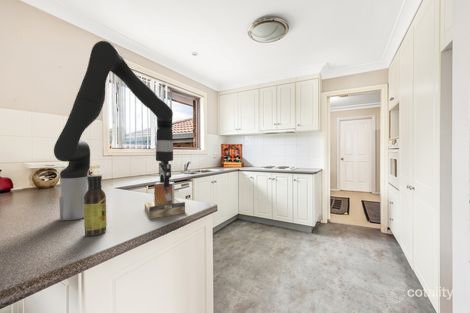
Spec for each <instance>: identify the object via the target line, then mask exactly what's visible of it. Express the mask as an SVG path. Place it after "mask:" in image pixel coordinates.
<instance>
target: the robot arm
mask: <svg viewBox="0 0 470 313" xmlns="http://www.w3.org/2000/svg"><path fill="white" fill-rule="evenodd" d="M89 55H90V56H89V59H88V62H87V64H88V65H87V68H86V72H85V73H84V74H85V75H84V76H83V79H82V81H81V85H80V86H79V89H78V92H77V94H76V97H75V99H74V102H73V105H72V107H71V108H72V109H71V110H70V113H69V114H68V118H67V119H66V122H65V125H64V127H63V129H62V130H61V132H60V134H59V136H58V138H57V139H56V142H55V144H54V146H53V155H54V157H55V158H56V160H57V161H60V162H66V163H67V162H68V165H67V167H65V168H63V169H62V170H61V171H60V172H59V184H60V186H59V187H60V196H59V198H58V200H59V201H58V203H59V204H58V205H59V221H75V220H79V219H84V196H85V194H86V192H87V191H88V180H87V177H88V176H89V175H88V174H89V171H90V168H91V167H90V166H91V149H90V145H89V144H88V142H86V141H85V140H82V139H81V138H82V135H83V133H84V131H85V130H86V129H87V128H88V127H89V126H91V124H92V123H93V122H95V121H96V120H97V119H98V117H99V116H100V114H101V112H102V109H103V106H104V103H105V99H106V85H107V84H106V82H107V79H108V76H109V74H110V72H111V73H112V74H113V75H115V76H116V77H117V78H119V79H120V80H121V81H122V82H123V83H124V84H125V86H126V87H127V88H128V89H129V90H130V92H131V93H132V94H133V95H134V96H135V97H136V98H137V99H138V100H139V101H140V102H141V103H142V104H143V106H145V107H146V108H147V109H149V110H150V111H151V112H152V114H153V115H155V117H156V137H155V139H156V142H155V161H156V162H158V175H159V182H164V187H165V188H166V187H169V182H170V179H171V178H172V164H171V163H169V162H173V161H174V142H173V141H174V140H173V138H174V137H173V134H174V133H173V117H174V113H173V109H172V108H171V107H170V106H169V105H168V104H167V103H165V101H163V99H162V98H159V96H158V95H157V94H156V93H155V92H154V90H152V88H151V87H149V85H148V84H146V83H145V82H144V80H142V79H141V78H140V77H139V76H138V75H137V74H136V73H135V72H134V71H133V70H132V69H131V68H130V66H129V65H128V63H127V62H126V61H125V59H124V58H123V56H122V54H121V52H120V51H119V50H118V49H117V48H116V47H115V46H114V45H113V44H112V43H110V42H108V41H106V40H100V41H97V42H95V44H94V45H93V46H92V48H91V51H90V54H89Z"/></svg>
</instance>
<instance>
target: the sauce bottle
mask: <svg viewBox="0 0 470 313" xmlns="http://www.w3.org/2000/svg"><path fill="white" fill-rule="evenodd" d="M102 178H103V176H102V174H99V175H98V174H97V175H96V174H95V175H94V174H93V175H88V177H87V180H88V191H87V192H86V194H85V196H84V218H83V219H84V220H83V223H84V234H85V236H86V237H90V236H91V237H92V236H98V235H101V234H103V233H105V232H106V231H107V196H106V195H107V194H106V192H105V191H104V190H103V189H102Z"/></svg>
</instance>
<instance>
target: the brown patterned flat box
mask: <svg viewBox="0 0 470 313" xmlns="http://www.w3.org/2000/svg"><path fill="white" fill-rule="evenodd" d="M174 202H175V203H173V204H166V205H158V206H154V201H150V202H144V211H145V213H146V215H147V216H148V218H149V219H156V218H162V217H168V216H173V215H178V214H179V215H180V214H185V213H186V201H182V202H180V200H178V199H176V198H174Z"/></svg>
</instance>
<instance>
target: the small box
mask: <svg viewBox="0 0 470 313" xmlns="http://www.w3.org/2000/svg"><path fill="white" fill-rule="evenodd" d="M153 190H154V196H153V198H154V201H153V202H154V206H158V205H166V204H173V203H175V202H174V199H175V182H174V181H169V187H166V188H165V187H164V182H160V181H158V182H156V183H154V188H153Z"/></svg>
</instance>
